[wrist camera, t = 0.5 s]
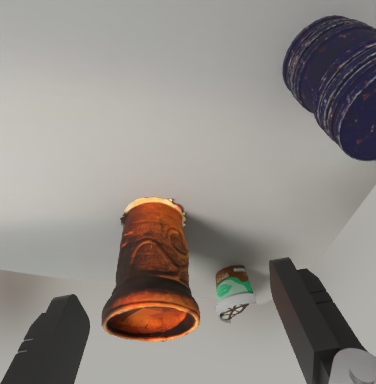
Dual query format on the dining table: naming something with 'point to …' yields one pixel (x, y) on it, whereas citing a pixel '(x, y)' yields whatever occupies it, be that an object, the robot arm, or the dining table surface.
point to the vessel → (152, 276)
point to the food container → (233, 292)
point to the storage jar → (337, 81)
